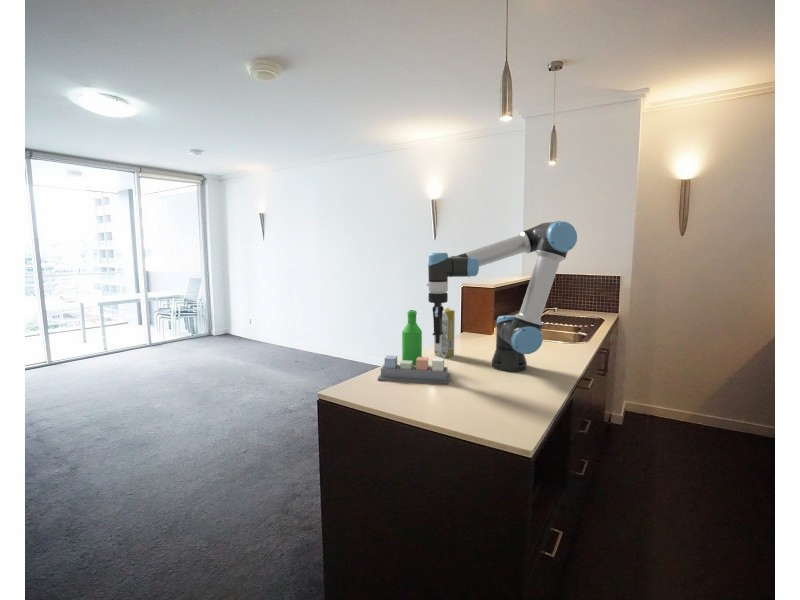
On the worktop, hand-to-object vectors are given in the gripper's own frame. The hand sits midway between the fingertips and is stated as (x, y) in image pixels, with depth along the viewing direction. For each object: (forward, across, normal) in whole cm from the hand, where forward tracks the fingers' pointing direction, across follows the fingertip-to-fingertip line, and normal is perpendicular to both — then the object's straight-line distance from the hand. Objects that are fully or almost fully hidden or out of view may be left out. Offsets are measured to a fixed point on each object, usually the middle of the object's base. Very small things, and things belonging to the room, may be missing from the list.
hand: (437, 350), depth 162 cm
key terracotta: (+9, 0, -6) cm, 11 cm away
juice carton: (+12, -36, -1) cm, 38 cm away
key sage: (+10, 0, -13) cm, 16 cm away
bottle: (+12, -18, -14) cm, 26 cm away
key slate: (+9, 0, -19) cm, 21 cm away
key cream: (+9, 0, 0) cm, 9 cm away
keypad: (+12, 0, -10) cm, 15 cm away
